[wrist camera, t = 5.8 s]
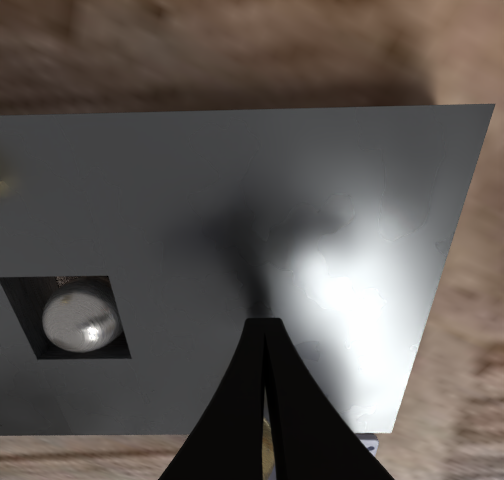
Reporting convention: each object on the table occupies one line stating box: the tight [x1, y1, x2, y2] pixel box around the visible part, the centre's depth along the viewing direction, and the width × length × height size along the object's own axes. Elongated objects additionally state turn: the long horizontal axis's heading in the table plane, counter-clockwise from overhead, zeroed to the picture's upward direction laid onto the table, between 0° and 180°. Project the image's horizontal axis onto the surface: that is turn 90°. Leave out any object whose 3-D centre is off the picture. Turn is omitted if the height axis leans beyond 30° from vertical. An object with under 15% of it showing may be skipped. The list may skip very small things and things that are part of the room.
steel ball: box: [42, 276, 124, 352], centre depth 11 cm, size 3×3×3 cm
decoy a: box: [262, 417, 275, 480], centre depth 11 cm, size 3×3×3 cm
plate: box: [0, 104, 495, 436], centre depth 12 cm, size 16×22×2 cm
